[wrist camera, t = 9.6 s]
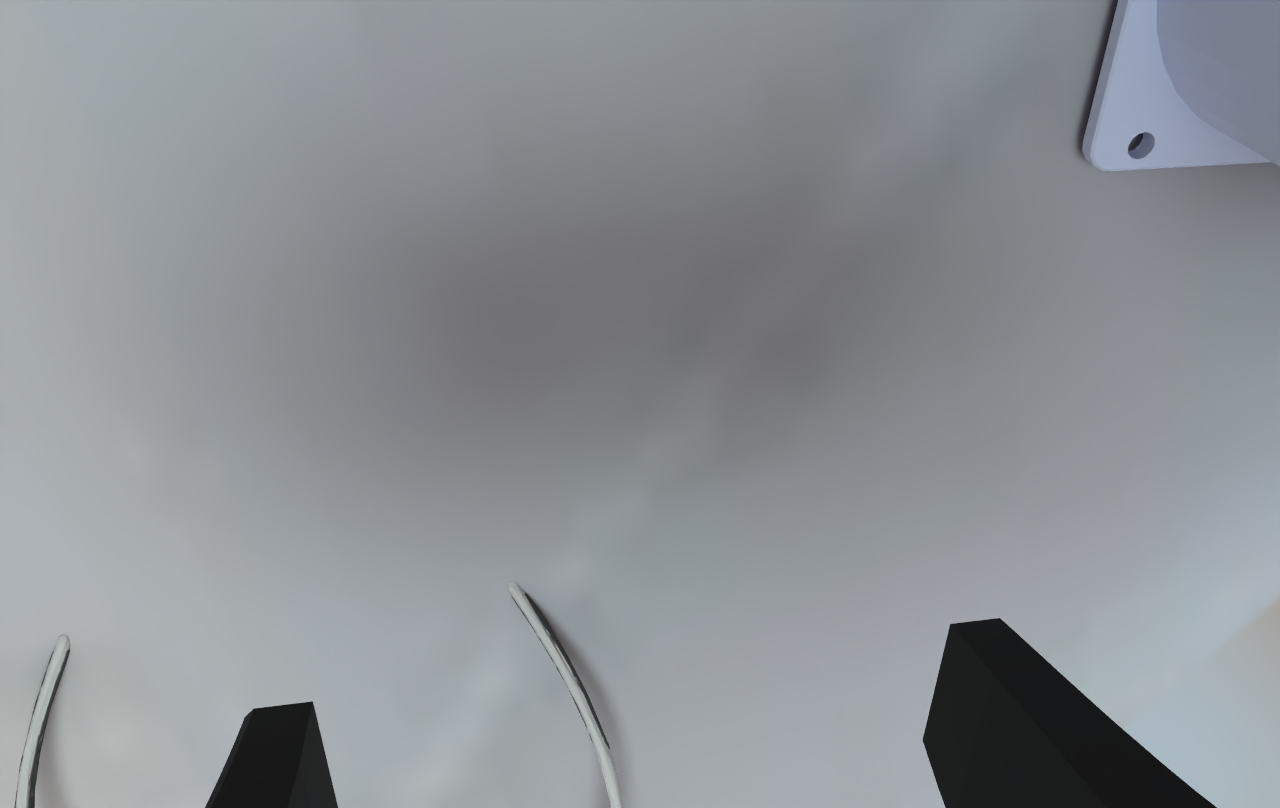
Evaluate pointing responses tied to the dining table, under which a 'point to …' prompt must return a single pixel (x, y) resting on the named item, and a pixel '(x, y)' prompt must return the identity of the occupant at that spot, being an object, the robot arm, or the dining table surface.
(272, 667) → the dining table surface
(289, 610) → the dining table surface
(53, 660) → the sunglasses
